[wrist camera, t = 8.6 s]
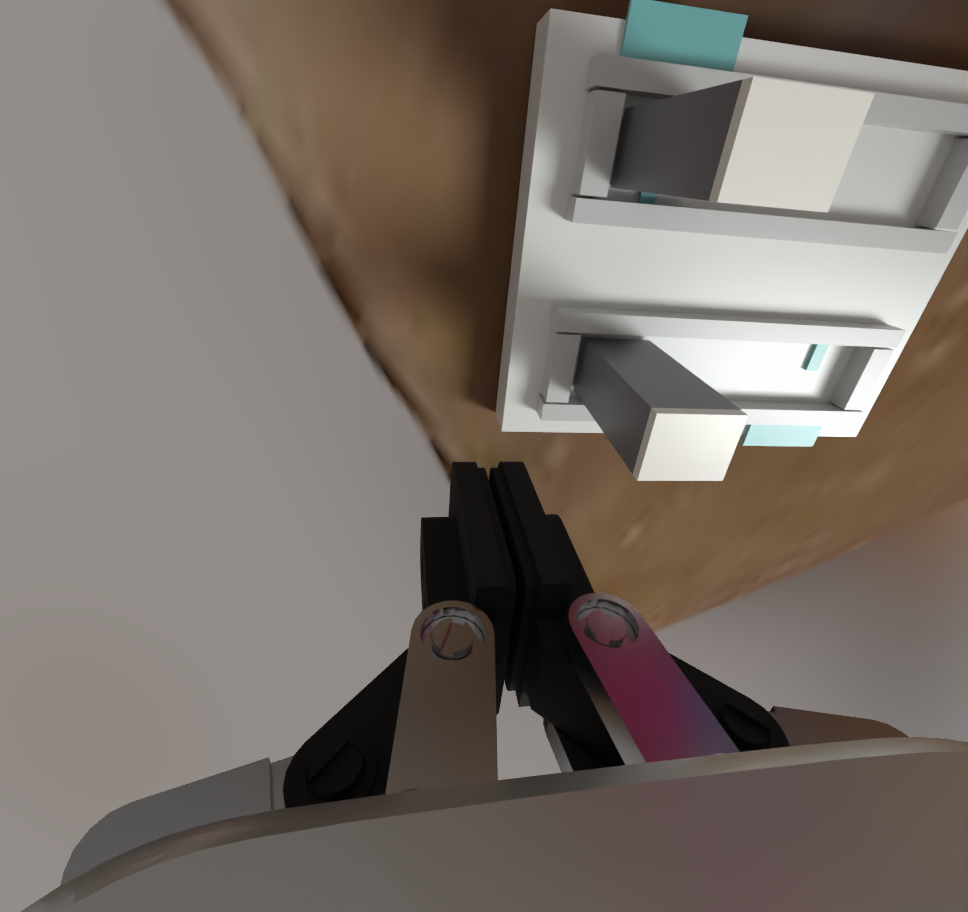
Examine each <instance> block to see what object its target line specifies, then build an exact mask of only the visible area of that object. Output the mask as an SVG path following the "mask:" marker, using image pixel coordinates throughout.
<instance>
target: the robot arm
mask: <svg viewBox="0 0 968 912" xmlns="http://www.w3.org/2000/svg"><path fill="white" fill-rule="evenodd" d="M449 502H450V504H449V517H430V518H429V517H428V518H421V542H420V543H421V544H420V564H421V565H420V566H421V591H422V609H423V611H422V612H421V613H420V614H419V615H418V617H417V618H416V619H415V621H414V624H413V627H412V630H411V636H410V642H409V648H408V649H407V650H405V651H404V652H403V653H402V654H401V655H400V656H399V657H398V658H397V659H396V660H395V661H393V662H392V663H391V664H390V665H389V666H388V667H387V668H386V669H385V670H384V671H382V672H381V674H379V675H378V676H377V677H376V678H375V679H374V680H373V681H372V682H371V683H369V684H368V685H367V686H366V687H365V688H364V689H363V690H362V691H361V692H360V693H358V694H357V695H356V696H355V697H354V698H353V699H352V700H351V701H350V702H349V703H348V704H346V705H345V706H344V707H343V708H342V709H341V710H340V711H339V712H338V713H337V714H336V715H334V716H333V717H332V718H331V719H330V720H329V721H328V722H327V723H326V724H325V725H324V726H323V727H322V728H320V729H319V730H318V731H317V732H316V733H315V734H314V735H313V736H311V737H310V738H309V739H308V740H307V741H306V742H305V743H304V744H303V745H302V747H301V748H300V749H299V750H298V751H297V752H296V754H295V755H294V756H291V757H289V758H285V759H283V760H279V761H276V762H273V763H270V759H269V758H265V759H262V760H259V761H256V762H253V763H250V764H247V765H244V766H241V767H238V768H235V769H232V770H229V771H225V772H222V773H219V774H216V775H213V776H210V777H207V778H204V779H201V780H198V781H195V782H192V783H189V784H185V785H183V786H179V787H176V788H173V789H170V790H167V791H164V792H161V793H158V794H155V795H152V796H149V797H146V798H143V799H140V800H136V801H133V802H130V803H128V804H126V805H124V806H122V807H120V808H118V809H116V810H114V811H112V812H110V813H109V814H107V815H106V816H105V817H104V818H103V819H101V820H100V821H99V822H98V823H97V824H95V825H94V826H93V827H92V828H90V829H89V831H88V832H87V833H86V834H85V836H84V837H83V838H82V839H81V841H80V842H79V843H78V845H77V846H76V847H75V849H74V850H73V852H72V854H71V856H70V859H69V861H68V863H67V866H66V868H65V870H64V873H63V877H62V881H61V885H60V886H59V887H57V888H56V889H54V890H53V891H52V892H50V893H48V894H47V895H45V896H44V897H42V898H41V899H39V900H37V901H36V902H34V903H33V904H31V905H30V906H28V907H27V908H25V909H24V910H22V911H21V912H968V742H964V741H957V740H951V739H942V738H926V737H908V736H907V735H906V734H904V733H903V732H901V731H899V730H897V729H895V728H894V727H892V726H890V725H888V724H885V723H882V722H879V721H875V720H871V719H863V718H856V717H848V716H841V715H834V714H827V713H820V712H813V711H805V710H798V709H790V708H783V707H776V706H773V707H772V709H771V710H770V712H768V711H766V710H765V709H764V708H763V707H762V706H760V705H759V704H757V703H756V702H755V701H753V700H752V699H750V698H748V697H747V696H745V695H743V694H741V693H739V692H737V691H736V690H734V689H732V688H730V687H728V686H727V685H725V684H723V683H722V682H720V681H718V680H716V679H714V678H713V677H711V676H709V675H707V674H706V673H704V672H702V671H700V670H698V669H696V668H695V667H693V666H691V665H689V664H688V663H686V662H684V661H682V660H681V659H679V658H677V657H675V656H673V655H672V654H670V653H668V651H667V650H666V649H665V647H664V646H663V644H662V643H661V642H660V640H659V639H658V638H657V636H656V635H655V633H654V632H653V631H652V629H651V628H650V626H649V625H648V624H647V622H646V621H645V620H644V618H643V617H642V615H641V614H640V613H639V612H638V611H637V610H636V609H635V608H634V607H633V606H632V605H630V604H629V603H627V602H626V601H624V600H623V599H620V598H618V597H616V596H613V595H609V594H604V593H594V591H593V588H592V586H591V584H590V582H589V580H588V577H587V575H586V573H585V571H584V569H583V566H582V564H581V562H580V560H579V558H578V555H577V553H576V551H575V549H574V547H573V544H572V542H571V540H570V538H569V536H568V533H567V531H566V529H565V527H564V525H563V522H562V520H561V519H560V517H559V516H558V515H556V514H549V515H545V513H544V510H543V508H542V506H541V503H540V501H539V498H538V496H537V494H536V491H535V489H534V486H533V484H532V481H531V479H530V477H529V474H528V472H527V469H526V467H525V465H524V463H523V462H499V464H498V468H491V469H490V474H489V480H488V477H487V473H486V470H485V468H478V467H477V464H476V462H453V463H452V468H451V484H450V501H449ZM504 680H505V684H506V688H507V690H508V691H512V690H515V691H516V696H517V701H518V704H519V707H522V706H530V707H531V709H532V710H533V711H535V712H536V713H537V714H539V715H540V716H542V717H543V725H544V729H545V733H546V736H547V738H548V741H549V743H550V745H551V748H552V750H553V753H554V755H555V758H556V760H557V763H558V765H559V767H560V770H561V772H562V773H556V774H547V775H539V776H531V777H522V778H515V779H507V780H498V774H497V773H498V772H497V726H496V715H497V714H498V713H499V708H500V703H501V696H502V690H503V684H504Z"/></svg>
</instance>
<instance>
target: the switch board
mask: <svg viewBox="0 0 968 912" xmlns="http://www.w3.org/2000/svg"><path fill="white" fill-rule="evenodd" d="M747 18H748V15H742V14H736V13H729V12H723V11H717V10H710V9H704V8H698V7H691V6H685V5H679V4H672V3H666V2H660V1H653V0H629V6H628V12H627V17H626V20H625V19H618V18H612V17H605V16H598V15H592V14H585V13H579V12H572V11H565V10H559V9H552V8H551V9H550V10H549V11H548V12H547V13H546V14H545V15H544V16H543V17H542V18H541V19H540V21H539V22H538V23H537V27H536V36H535V45H534V55H533V64H532V74H531V83H530V92H529V102H528V111H527V121H526V130H525V140H524V149H523V158H522V168H521V177H520V187H519V196H518V205H517V215H516V224H515V234H514V243H513V253H512V262H511V271H510V281H509V290H508V300H507V309H506V319H505V328H504V337H503V347H502V356H501V366H500V375H499V384H498V394H497V403H496V416H497V419H498V422H499V425H500V428H501V431H511V432H575V433H603V431H602V430H601V428H600V427H599V425H598V424H597V423H596V421H595V420H594V418H593V417H592V415H591V414H590V413H589V411H588V410H587V408H586V407H585V406H584V404H583V403H582V401H581V400H580V398H579V397H578V396H577V394H576V393H575V391H574V390H573V387H574V382H575V377H576V371H577V366H578V361H579V356H580V350H581V345H582V340H583V337H592V338H614V339H635V340H650V341H651V342H652V343H654V344H655V345H656V346H657V347H659V348H660V349H661V350H663V351H664V352H665V353H667V354H668V355H669V356H671V357H672V358H673V359H675V360H676V361H677V362H679V363H680V364H681V365H683V366H684V367H685V368H687V369H688V370H689V371H690V372H692V373H693V374H694V375H696V376H697V377H698V378H700V379H701V380H702V381H704V382H705V383H706V384H708V385H709V386H710V387H712V388H713V389H714V390H716V391H717V392H718V393H720V394H721V395H722V396H723V397H725V398H726V399H727V400H729V401H730V402H731V403H733V404H734V405H735V406H737V407H738V408H739V409H741V410H742V411H743V412H745V413H746V414H747V415H749V416H748V418H747V421H746V423H745V426H744V428H743V431H742V433H741V435H744V436H743V439H742V441H741V445H743V446H813V445H814V443H815V440H816V438H817V436H831V437H856V436H857V434H858V432H859V430H860V428H861V427H862V425H863V423H864V421H865V419H866V417H867V415H868V414H869V412H870V410H871V408H872V406H873V404H874V402H875V400H876V399H877V397H878V395H879V393H880V391H881V389H882V387H883V385H884V384H885V382H886V380H887V378H888V376H889V374H890V372H891V370H892V369H893V367H894V365H895V363H896V361H897V359H898V357H899V355H900V354H901V352H902V350H903V348H904V346H905V344H906V342H907V340H908V339H909V337H910V335H911V333H912V331H913V329H914V327H915V326H916V324H917V322H918V320H919V318H920V316H921V314H922V312H923V311H924V309H925V307H926V305H927V303H928V301H929V299H930V297H931V296H932V294H933V292H934V290H935V288H936V286H937V284H938V282H939V281H940V279H941V277H942V275H943V273H944V271H945V269H946V267H947V266H948V264H949V262H950V260H951V258H952V256H953V254H954V253H955V251H956V249H957V247H958V245H959V243H960V241H961V239H962V238H963V236H964V234H965V232H966V230H967V228H968V71H964V70H957V69H950V68H944V67H937V66H930V65H924V64H917V63H910V62H904V61H897V60H891V59H884V58H877V57H871V56H864V55H857V54H851V53H844V52H837V51H831V50H824V49H818V48H811V47H804V46H798V45H791V44H784V43H778V42H771V41H764V40H758V39H751V38H745V37H743V33H744V29H745V26H746V22H747ZM750 77H759V78H767V79H774V80H781V81H788V82H796V83H803V84H810V85H817V86H825V87H832V88H839V89H847V90H854V91H861V92H868V93H875V95H874V97H873V100H872V102H871V105H870V107H869V110H868V112H867V115H866V117H865V120H864V122H863V125H862V128H861V130H860V133H859V135H858V138H857V140H856V143H855V145H854V148H853V150H852V153H851V155H850V158H849V160H848V163H847V165H846V168H845V170H844V173H843V175H842V178H841V181H840V183H839V186H838V188H837V191H836V193H835V196H834V198H833V201H832V203H831V206H830V208H829V211H828V213H827V212H816V211H806V210H795V209H784V208H774V207H763V206H752V205H742V204H731V203H720V202H712V201H705V200H698V199H690V198H683V197H676V196H668V195H661V194H654V193H646V192H639V191H632V190H625V189H617V188H610V187H611V182H612V177H613V171H614V166H615V161H616V155H617V150H618V145H619V140H620V134H621V129H622V124H623V118H624V113H625V108H628V107H632V106H636V105H640V104H644V103H648V102H652V101H656V100H660V99H664V98H669V97H673V96H677V95H681V94H685V93H689V92H693V91H697V90H701V89H705V88H709V87H713V86H718V85H722V84H726V83H730V82H734V81H738V80H742V79H746V78H750Z"/></svg>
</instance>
